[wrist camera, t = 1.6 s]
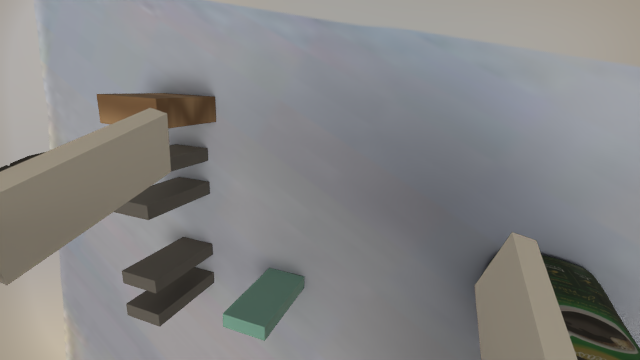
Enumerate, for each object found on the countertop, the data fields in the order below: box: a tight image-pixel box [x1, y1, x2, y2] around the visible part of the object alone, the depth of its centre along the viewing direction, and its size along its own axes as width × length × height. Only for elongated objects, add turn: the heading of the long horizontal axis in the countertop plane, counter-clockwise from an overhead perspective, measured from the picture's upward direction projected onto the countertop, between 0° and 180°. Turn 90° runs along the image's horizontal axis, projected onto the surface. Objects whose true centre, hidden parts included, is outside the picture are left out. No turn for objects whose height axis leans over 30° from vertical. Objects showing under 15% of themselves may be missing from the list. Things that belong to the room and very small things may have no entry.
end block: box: [97, 93, 216, 128], centre depth 38 cm, size 3×8×9 cm, turn 88°
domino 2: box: [114, 177, 210, 220], centre depth 41 cm, size 2×5×10 cm, turn 87°
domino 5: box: [223, 268, 304, 341], centre depth 39 cm, size 2×5×10 cm, turn 87°
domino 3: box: [122, 237, 213, 293], centre depth 43 cm, size 2×5×10 cm, turn 88°
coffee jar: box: [486, 255, 640, 360], centre depth 25 cm, size 10×8×19 cm
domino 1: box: [169, 144, 208, 171], centre depth 39 cm, size 2×5×10 cm, turn 87°
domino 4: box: [126, 267, 214, 326], centre depth 44 cm, size 2×5×10 cm, turn 88°
